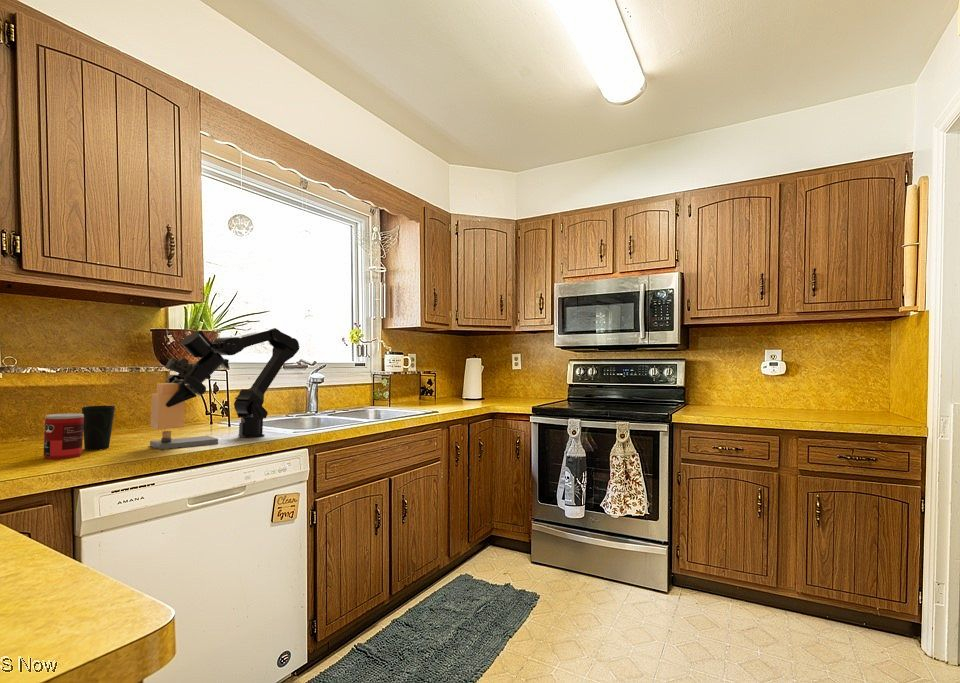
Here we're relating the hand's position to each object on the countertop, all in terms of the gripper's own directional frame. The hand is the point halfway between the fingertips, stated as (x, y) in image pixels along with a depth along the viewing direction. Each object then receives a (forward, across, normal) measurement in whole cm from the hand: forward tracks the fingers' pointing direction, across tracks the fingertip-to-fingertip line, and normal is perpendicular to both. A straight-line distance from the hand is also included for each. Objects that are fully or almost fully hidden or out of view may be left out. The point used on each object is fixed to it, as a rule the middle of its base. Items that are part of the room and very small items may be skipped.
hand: (162, 405), depth 149 cm
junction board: (+4, 0, +13) cm, 14 cm away
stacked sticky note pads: (+4, 0, +6) cm, 7 cm away
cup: (+19, -9, -1) cm, 21 cm away
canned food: (+25, -1, -7) cm, 26 cm away
